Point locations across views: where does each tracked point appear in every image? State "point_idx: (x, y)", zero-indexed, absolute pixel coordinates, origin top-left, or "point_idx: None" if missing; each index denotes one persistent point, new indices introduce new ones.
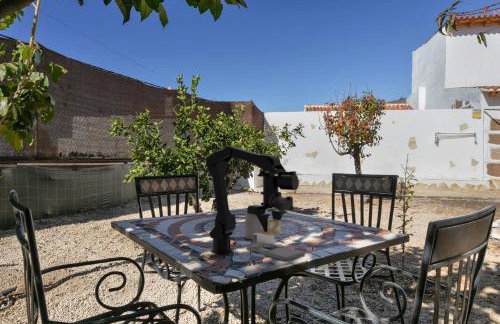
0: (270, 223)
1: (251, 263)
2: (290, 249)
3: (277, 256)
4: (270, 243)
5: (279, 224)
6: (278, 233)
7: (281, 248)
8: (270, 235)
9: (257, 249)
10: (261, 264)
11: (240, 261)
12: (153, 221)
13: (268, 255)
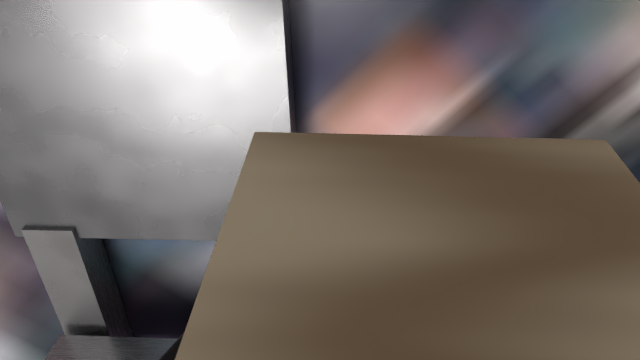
0: None
1: (612, 120)
2: (10, 120)
3: (289, 57)
4: (109, 342)
5: (244, 318)
6: (325, 142)
7: (82, 205)
8: (603, 153)
9: None
10: (579, 24)
11: None
12: None
13: None
